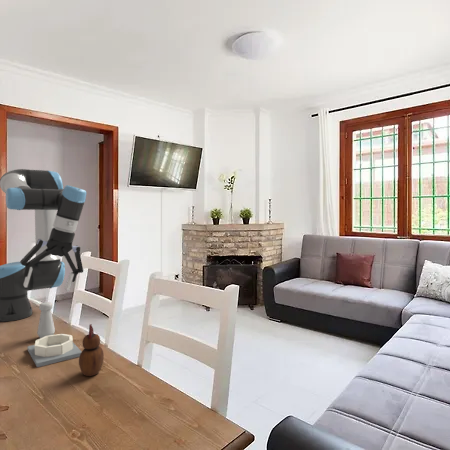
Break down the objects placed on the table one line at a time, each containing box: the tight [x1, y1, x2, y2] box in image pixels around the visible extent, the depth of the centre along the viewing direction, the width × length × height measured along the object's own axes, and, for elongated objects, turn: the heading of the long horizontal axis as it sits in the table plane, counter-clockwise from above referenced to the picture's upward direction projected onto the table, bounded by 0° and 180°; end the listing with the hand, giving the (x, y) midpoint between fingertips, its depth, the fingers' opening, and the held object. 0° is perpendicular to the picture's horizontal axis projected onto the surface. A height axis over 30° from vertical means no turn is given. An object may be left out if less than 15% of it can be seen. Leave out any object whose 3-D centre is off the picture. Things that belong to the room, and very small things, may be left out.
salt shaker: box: [36, 301, 56, 339], centre depth 124 cm, size 6×6×13 cm
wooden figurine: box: [78, 323, 105, 377], centre depth 98 cm, size 7×6×15 cm
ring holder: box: [34, 333, 74, 357], centre depth 112 cm, size 11×11×3 cm
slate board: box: [26, 342, 83, 368], centre depth 112 cm, size 16×13×1 cm
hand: (46, 288), depth 119 cm, fingers open, 13 cm apart
